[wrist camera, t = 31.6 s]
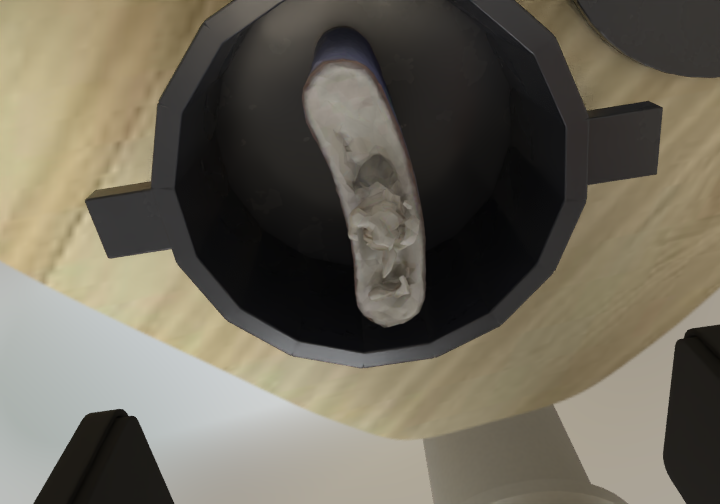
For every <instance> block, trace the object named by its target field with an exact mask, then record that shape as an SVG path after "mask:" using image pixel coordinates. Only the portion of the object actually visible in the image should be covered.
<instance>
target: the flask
mask: <svg viewBox="0 0 720 504" xmlns="http://www.w3.org/2000/svg"><path fill="white" fill-rule="evenodd" d="M302 102H303V108H304V114H305V119H306V123H307V125H308V127H309V129H310V131H311V133H312V136H313V138H314V139H315V141H316V142H317V144H318V146H319V148H320V150H321V152H322V154H323V156H324V158H325V160H326V162H327V164H328V166H329V168H330V171H331V173H332V176H333V179H334V182H335V185H336V192H337V194H338V196H339V198H340V204H341V207H342V210H343V214H344V217H345V221H346V226H347V229H348V236H349V239H350V241H351V249H352V255H353V262H354V281H355V295H356V300H357V306H358V308H359V309H360V311H361V312H362V314H363V315H364V316H365V317H367V318H368V319H369V320H370V321H372V322H374V323H377V324H379V325H381V326H382V327H384V328H386V327H391V326H394V325H398V324H403V323H405V322H407V321H409V320H410V319H411V318H413V317H414V316H415V315H417V314H418V313H419V312H420V310H421V307H422V304H423V302H424V300H425V291H426V281H425V275H426V259H425V242H426V237H425V229H424V220H423V214H422V208H421V202H420V197H419V193H418V188H417V183H416V177H415V174H414V171H413V167H412V163H411V159H410V156H409V153H408V149H407V146H406V143H405V140H404V138H403V135H402V131H401V127H400V125H399V123H398V120H397V117H396V114H395V111H394V107H393V103H392V99H391V96H390V94H389V91H388V89H387V86H386V83H385V81H384V77H383V75H382V71H381V68H380V65H379V63H378V61H377V59H376V56H375V54H374V52H373V50H372V47H371V45H370V44H369V42H368V41H367V40H366V39H365V38H364V37H363V36H362V35H361V34H360V33H359V32H358V31H356V30H354V29H353V28H351V27H343V26H342V27H335V28H332V29H330V30H328V31H326V32H324V33H323V35H322V36H321V38H320V39H319V41H318V42H317V45H316V47H315V50H314V60H313V63H312V69H311V72H310V74H309V76H308V79H307V81H306V83H305V85H304V87H303V94H302Z"/></svg>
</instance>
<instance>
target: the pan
mask: <svg viewBox="0 0 720 504" xmlns="http://www.w3.org/2000/svg"><path fill="white" fill-rule="evenodd" d="M342 26H343V27H351V28H353V29H354V30H356V31H358V32H359V33H360V34H361V35H362V36H363V37H364V38H365V39H366V40H367V41H368V42H369V44H370V45H371V47H372V50H373V52H374V54H375V56H376V59H377V61H378V63H379V65H380V68H381V71H382V75H383V77H384V81H385V83H386V86H387V89H388V91H389V94H390V96H391V99H392V103H393V107H394V111H395V114H396V117H397V120H398V123H399V125H400V127H401V131H402V135H403V138H404V140H405V143H406V146H407V149H408V153H409V156H410V159H411V163H412V167H413V171H414V174H415V177H416V183H417V188H418V193H419V197H420V202H421V208H422V214H423V220H424V229H425V237H426V242H425V259H426V275H425V281H426V291H425V300H424V302H423V304H422V307H421V310H420V312H419V313H418V314H417V315H415V316H414V317H413V318H411V319H410V320H409V321H407V322H405V323H403V324H398V325H394V326H391V327H386V328H384V327H382V326H381V325H379V324H377V323H374V322H372V321H370V320H369V319H368V318H367V317H365V316H364V315H363V314H362V312H361V311H360V309H359V308H358V306H357V300H356V295H355V281H354V262H353V255H352V249H351V241H350V239H349V236H348V229H347V226H346V221H345V217H344V214H343V210H342V207H341V204H340V198H339V196H338V194H337V192H336V185H335V182H334V179H333V176H332V173H331V171H330V168H329V166H328V164H327V162H326V160H325V158H324V156H323V154H322V152H321V150H320V148H319V146H318V144H317V142H316V141H315V139H314V138H313V136H312V133H311V131H310V129H309V127H308V125H307V123H306V119H305V114H304V108H303V102H302V94H303V87H304V85H305V83H306V81H307V79H308V76H309V74H310V72H311V69H312V63H313V60H314V50H315V47H316V45H317V42H318V41H319V39H320V38H321V36H322V35H323V33H324V32H326V31H328V30H330V29H332V28H335V27H342ZM662 110H663V108H662V107H660V106H658V105H656V104H654V103H652V102H650V101H646V102H639V103H633V104H627V105H621V106H614V107H608V108H602V109H596V110H590V111H587V110H586V108H585V105H584V103H583V101H582V98H581V96H580V94H579V91H578V89H577V86H576V84H575V82H574V79H573V77H572V75H571V72H570V70H569V68H568V65H567V63H566V60H565V58H564V56H563V53H562V51H561V49H560V46H559V44H558V41H557V39H556V37H554V35H553V34H552V33H551V32H550V31H549V30H548V29H547V28H546V27H544V26H543V25H542V24H541V23H540V22H539V21H538V20H536V19H535V18H534V17H533V16H532V15H531V14H530V13H529V12H527V11H526V10H525V9H524V8H523V7H522V6H521V5H519V4H518V3H517V2H516V1H515V0H233V1H231V2H230V3H229V4H227V5H226V6H224V7H223V8H221V9H220V10H219V11H217V12H216V13H214V14H213V15H212V16H210V17H209V18H207V19H206V20H205V21H204V23H202V25H201V26H200V28H199V30H198V32H197V33H196V35H195V37H194V39H193V40H192V42H191V44H190V46H189V48H188V49H187V51H186V53H185V55H184V56H183V58H182V60H181V62H180V63H179V65H178V67H177V69H176V71H175V72H174V74H173V76H172V78H171V79H170V81H169V83H168V85H167V86H166V88H165V90H164V92H163V94H162V95H161V97H160V99H159V103H158V104H157V114H156V126H155V139H154V151H153V163H152V176H151V181H150V182H144V183H138V184H132V185H126V186H119V187H113V188H107V189H101V190H95V191H94V192H93V193H92V194H91V195H90V196H89V197H88V198H86V199H85V203H86V205H87V208H88V210H89V213H90V215H91V218H92V220H93V222H94V225H95V227H96V230H97V232H98V235H99V237H100V240H101V242H102V244H103V247H104V249H105V252H106V254H107V257H108V258H117V257H123V256H130V255H136V254H143V253H149V252H156V251H162V250H168V249H172V251H173V254H174V257H175V260H176V263H177V264H178V266H179V267H180V268H181V269H182V270H183V271H184V272H185V274H186V275H187V276H188V277H189V278H190V279H191V280H192V282H193V283H194V284H195V285H196V286H197V287H198V288H199V290H200V291H201V292H202V293H203V294H204V295H205V296H206V298H207V299H208V300H209V301H210V302H211V303H212V304H213V306H214V307H215V308H216V309H217V310H218V311H219V312H220V314H221V315H222V316H223V317H224V318H225V319H226V320H227V321H228V322H230V323H232V324H234V325H235V326H237V327H239V328H241V329H243V330H245V331H246V332H248V333H250V334H252V335H254V336H256V337H257V338H259V339H261V340H263V341H265V342H267V343H268V344H270V345H272V346H274V347H276V348H278V349H279V350H281V351H283V352H285V353H287V354H289V355H292V356H294V357H300V358H306V359H311V360H317V361H323V362H329V363H334V364H340V365H346V366H351V367H357V368H363V367H364V368H368V367H375V366H382V365H389V364H396V363H403V362H410V361H417V360H424V359H431V358H434V357H435V358H436V357H438V356H441V355H443V354H445V353H447V352H449V351H451V350H453V349H455V348H457V347H459V346H461V345H463V344H465V343H467V342H469V341H471V340H473V339H475V338H477V337H479V336H481V335H483V334H485V333H487V332H489V331H491V330H493V329H495V328H497V327H499V326H501V325H502V324H503V323H504V322H505V321H506V320H507V319H508V318H509V317H510V316H511V315H512V314H513V313H514V312H515V311H516V310H517V309H518V308H519V307H520V306H521V305H522V304H523V303H524V302H525V301H526V300H527V299H528V298H529V297H530V296H531V295H532V294H533V293H534V292H535V291H536V290H537V289H538V288H539V287H540V286H541V285H542V284H543V283H544V282H545V281H546V280H547V279H548V278H549V277H550V276H551V275H552V274H553V272H554V271H555V270H556V268H557V265H558V263H559V261H560V259H561V257H562V254H563V252H564V250H565V248H566V245H567V243H568V241H569V239H570V237H571V234H572V232H573V230H574V228H575V226H576V223H577V221H578V219H579V217H580V215H581V212H582V210H583V208H584V206H585V203H586V200H587V185H591V184H597V183H604V182H610V181H617V180H623V179H630V178H636V177H643V176H649V175H656V174H657V166H658V155H659V144H660V133H661V121H662Z"/></svg>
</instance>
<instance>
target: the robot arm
mask: <svg viewBox="0 0 720 504" xmlns="http://www.w3.org/2000/svg"><path fill="white" fill-rule="evenodd" d="M663 460H664V464H665V468H666V471H667V473H668V475H669V477H670V479H671V480H672V482H673V483H674V485H675V487H676V488H677V490H678V491H679V493H680V494H681V496H682V497H683V499H684V501H685V502H686V504H720V325H714V326H707V327H700V328H692V329H690V330H687V332H686V333H685V336H684V339H679V340H678V341H677V342H676V345H675V352H674V361H673V370H672V379H671V388H670V397H669V406H668V415H667V424H666V432H665V442H664V451H663ZM34 504H174V502H173V500H172V497H171V495H170V493H169V490H168V488H167V486H166V483H165V481H164V479H163V477H162V474H161V472H160V470H159V467H158V465H157V463H156V461H155V458H154V456H153V454H152V451H151V449H150V447H149V444H148V442H147V440H146V438H145V435H144V433H143V431H142V428H141V426H140V424H139V422H138V420H137V418H136V417H134V416H128V414H127V413H126V412H125V411H124V410H123V409H117V410H109V411H102V412H95V413H89V414H88V415H86V416H85V417H84V418H83V420H82V421H81V423H80V425H79V426H78V428H77V430H76V431H75V433H74V435H73V437H72V438H71V440H70V442H69V444H68V445H67V447H66V449H65V451H64V452H63V454H62V456H61V457H60V459H59V461H58V462H57V464H56V466H55V467H54V469H53V471H52V473H51V474H50V476H49V478H48V480H47V481H46V483H45V485H44V486H43V488H42V490H41V492H40V493H39V495H38V497H37V498H36V500H35V502H34Z"/></svg>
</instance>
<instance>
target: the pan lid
mask: <svg viewBox="0 0 720 504" xmlns="http://www.w3.org/2000/svg"><path fill="white" fill-rule="evenodd" d="M573 1H574V3H575V4H576V6H577V7H578V9H579V10H580V12H581V13H582V15H583V16H584V18H585V19H586V21H587V22H588V23H589V25H590V26H591V27H592V28H593V29H594V30H595V31H596V32H597V33H598V34H599V35H600V36H601V37H602V38H603V39H604V40H605V41H606V42H607V43H609V44H610V45H611V46H612V47H614V48H615V49H616V50H618V51H619V52H620V53H621V54H623V55H625V56H627V57H629V58H631V59H632V60H634V61H636V62H638V63H640V64H642V65H645V66H648V67H651V68H653V69H656V70H659V71H662V72H665V73H669V74H675V75H680V76H685V77H700V78H716V77H720V0H573Z"/></svg>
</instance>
